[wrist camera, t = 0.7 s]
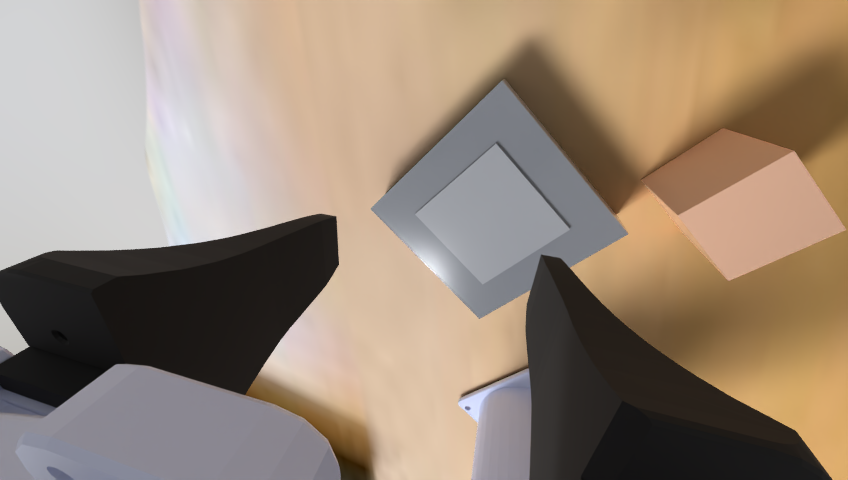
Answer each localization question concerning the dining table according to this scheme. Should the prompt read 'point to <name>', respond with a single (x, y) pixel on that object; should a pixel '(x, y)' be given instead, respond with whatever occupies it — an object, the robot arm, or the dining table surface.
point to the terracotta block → (743, 201)
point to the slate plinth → (497, 204)
